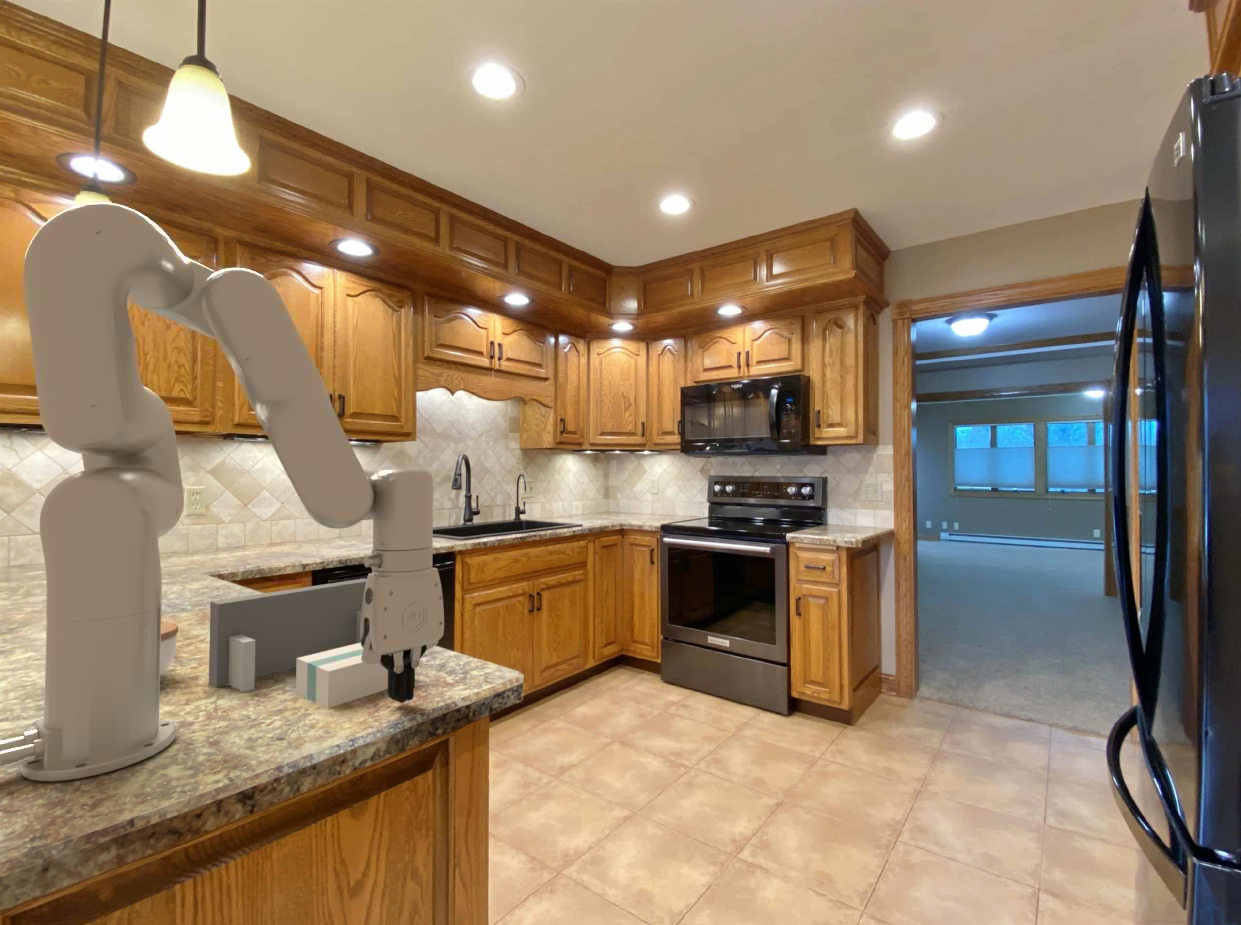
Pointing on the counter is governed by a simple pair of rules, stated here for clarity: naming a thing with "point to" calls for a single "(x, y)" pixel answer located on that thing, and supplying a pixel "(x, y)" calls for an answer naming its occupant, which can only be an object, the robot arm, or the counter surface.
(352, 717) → the counter surface
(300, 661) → the carton
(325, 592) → the display stand
